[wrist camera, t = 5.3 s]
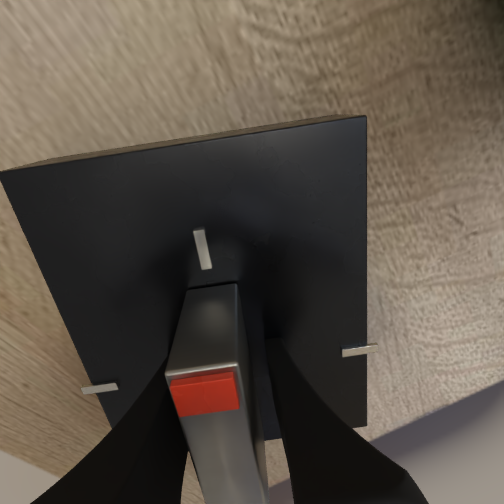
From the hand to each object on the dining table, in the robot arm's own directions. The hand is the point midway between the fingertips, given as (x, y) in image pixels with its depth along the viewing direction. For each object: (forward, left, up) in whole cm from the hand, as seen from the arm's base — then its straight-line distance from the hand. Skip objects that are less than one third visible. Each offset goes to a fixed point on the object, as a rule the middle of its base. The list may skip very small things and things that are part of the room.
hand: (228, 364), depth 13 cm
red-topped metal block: (0, 0, 0) cm, 0 cm away
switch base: (+2, 0, -3) cm, 4 cm away
